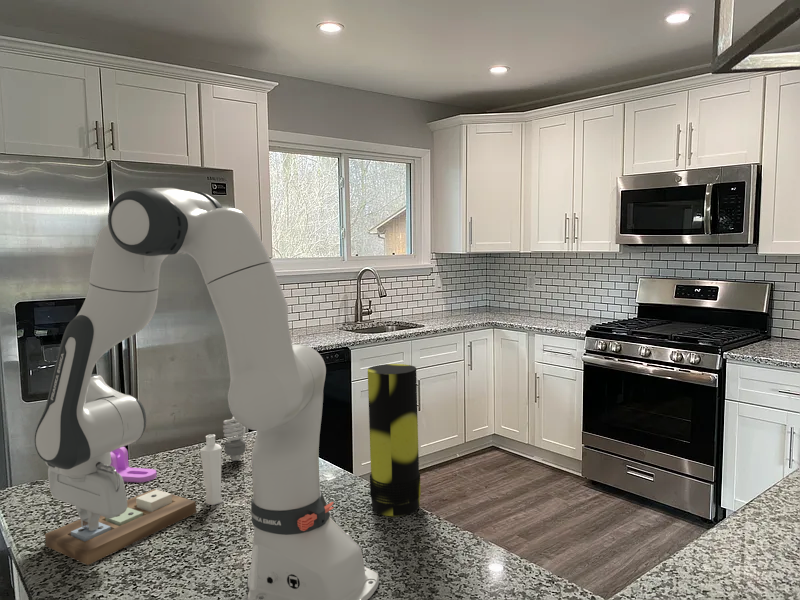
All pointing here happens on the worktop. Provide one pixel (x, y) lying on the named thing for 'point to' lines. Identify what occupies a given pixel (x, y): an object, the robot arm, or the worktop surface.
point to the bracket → (127, 472)
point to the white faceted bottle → (212, 470)
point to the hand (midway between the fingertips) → (90, 528)
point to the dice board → (118, 531)
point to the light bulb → (234, 439)
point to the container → (393, 439)
